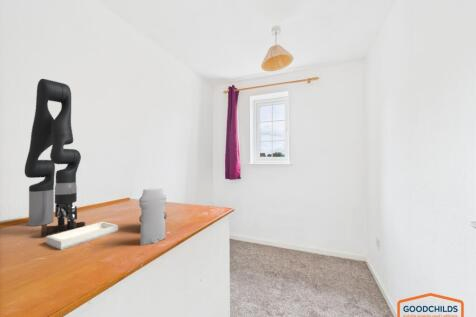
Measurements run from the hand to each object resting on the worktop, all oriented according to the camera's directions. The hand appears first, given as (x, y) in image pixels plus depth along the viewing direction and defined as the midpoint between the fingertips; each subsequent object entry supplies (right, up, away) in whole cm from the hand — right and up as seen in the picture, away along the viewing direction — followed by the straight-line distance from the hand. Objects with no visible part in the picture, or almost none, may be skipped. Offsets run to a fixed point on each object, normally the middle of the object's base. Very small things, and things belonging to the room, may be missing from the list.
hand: (65, 228), depth 90 cm
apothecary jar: (+38, -2, +4) cm, 38 cm away
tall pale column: (+44, -2, -10) cm, 45 cm away
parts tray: (+13, -2, -5) cm, 14 cm away
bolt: (-1, -3, 0) cm, 3 cm away
